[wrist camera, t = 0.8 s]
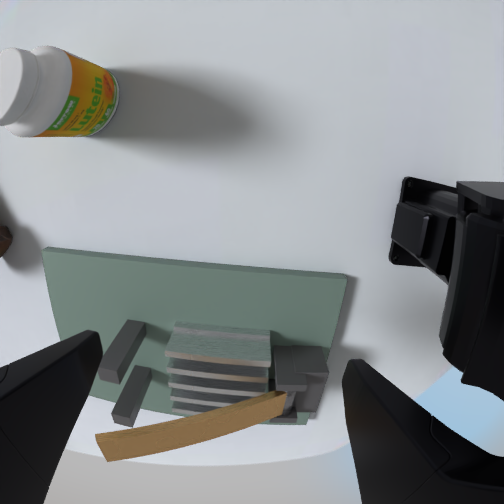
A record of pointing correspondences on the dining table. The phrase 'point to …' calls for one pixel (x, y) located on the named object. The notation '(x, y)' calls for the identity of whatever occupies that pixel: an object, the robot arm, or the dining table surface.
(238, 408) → the brown long flat bar
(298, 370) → the block
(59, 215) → the dining table surface
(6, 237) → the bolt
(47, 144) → the dining table surface
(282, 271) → the board
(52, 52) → the supplement bottle
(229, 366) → the heatsink
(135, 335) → the lug fork
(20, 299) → the dining table surface
